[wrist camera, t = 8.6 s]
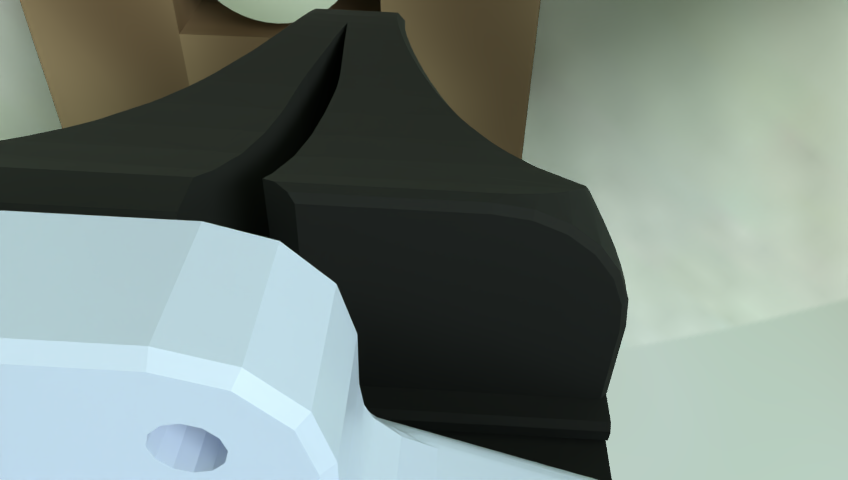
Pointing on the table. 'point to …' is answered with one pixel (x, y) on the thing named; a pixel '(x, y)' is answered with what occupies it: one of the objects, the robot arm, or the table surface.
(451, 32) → the button board
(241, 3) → the button one
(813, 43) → the table surface
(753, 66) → the table surface
